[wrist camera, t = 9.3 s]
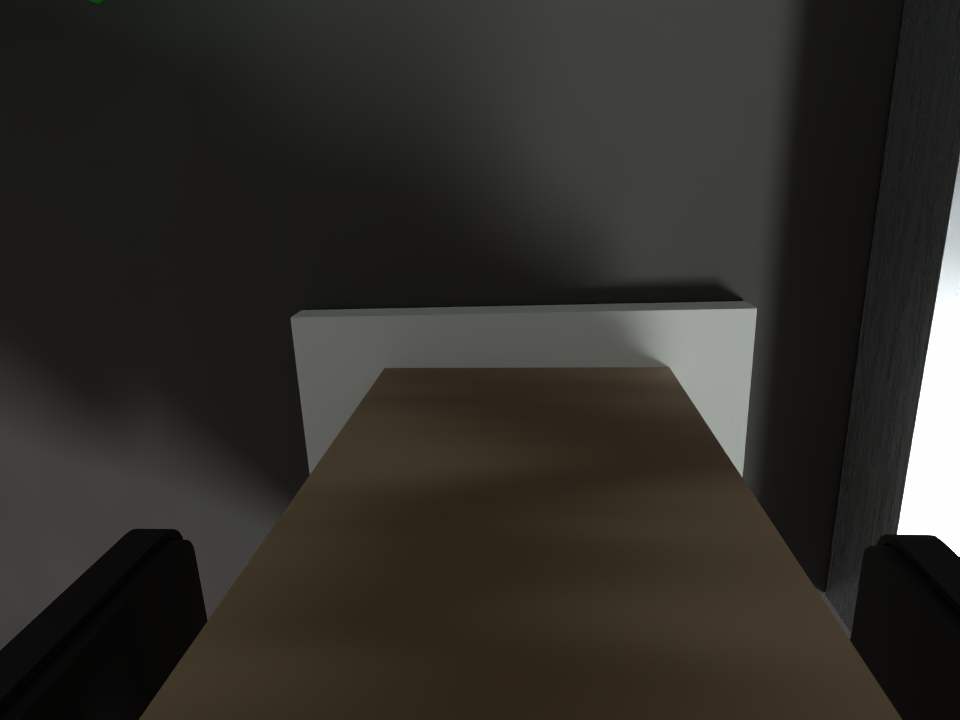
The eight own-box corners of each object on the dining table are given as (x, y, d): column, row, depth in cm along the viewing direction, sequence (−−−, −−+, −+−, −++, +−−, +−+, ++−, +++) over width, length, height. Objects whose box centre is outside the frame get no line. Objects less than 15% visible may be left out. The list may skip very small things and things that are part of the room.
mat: (746, 300, 12) (756, 308, 11) (719, 634, 14) (727, 655, 13) (301, 310, 12) (290, 317, 12) (338, 627, 14) (331, 646, 14)
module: (669, 367, 11) (1020, 896, 3) (654, 611, 13) (870, 1404, 5) (385, 367, 12) (51, 842, 4) (401, 605, 13) (192, 1328, 5)
